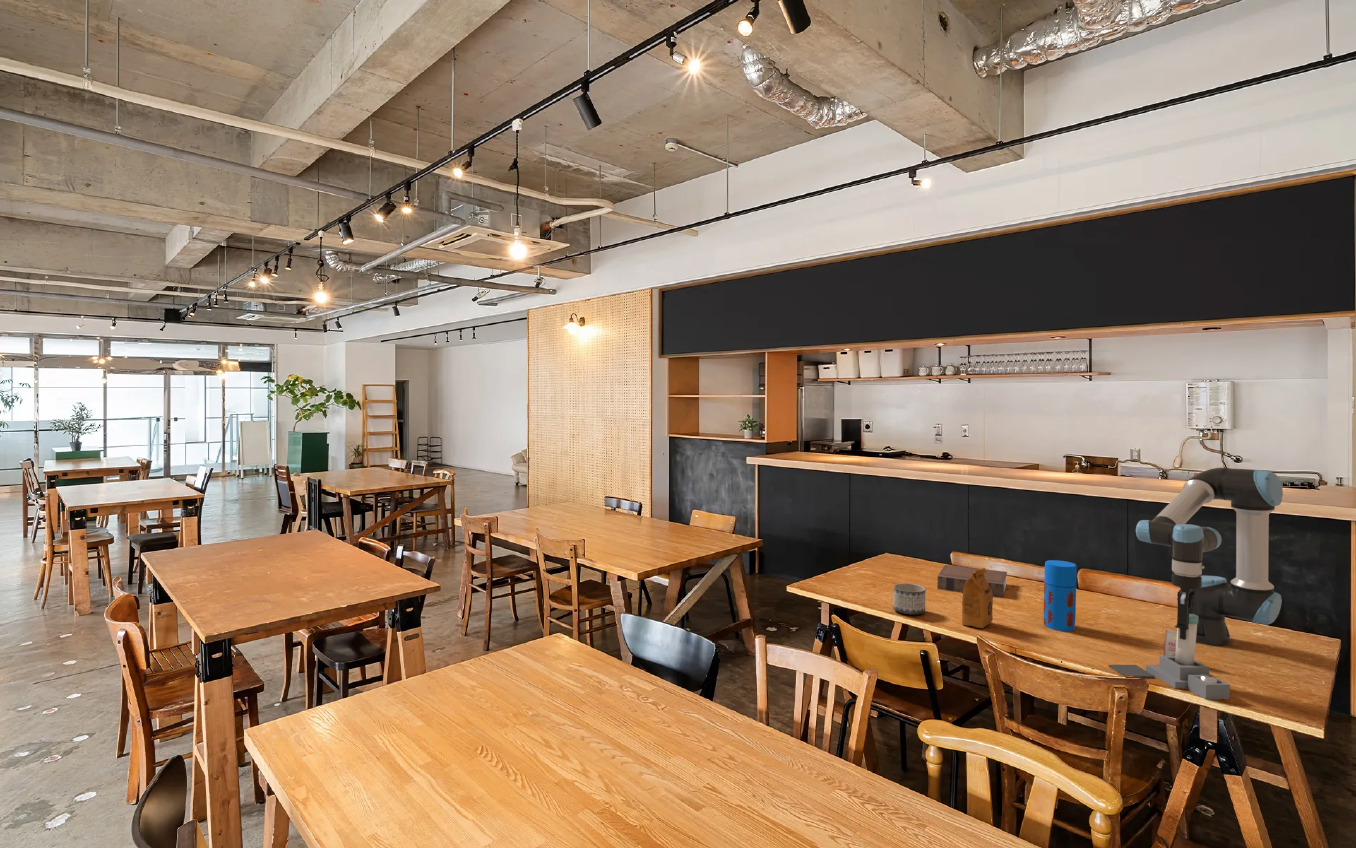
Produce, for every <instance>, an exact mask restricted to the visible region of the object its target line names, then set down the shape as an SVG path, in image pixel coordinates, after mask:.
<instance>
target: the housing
mask: <svg viewBox="0 0 1356 848" xmlns="http://www.w3.org/2000/svg"><path fill="white" fill-rule="evenodd" d="M1158 662H1159V663H1158V664H1146V665H1145V671H1147V672H1149V673H1150V674H1152V675H1154V676H1155V678H1157V679H1159V680H1161V681H1162V682H1164V683H1165V684H1167V685H1169V686H1170V687H1172V688H1174V689H1187V690H1188V691H1190V692H1192V693H1193V694H1194V695H1195V694H1196V695H1197V696H1199V697H1201V698H1202V699H1203V700H1221V699H1229V700H1230V691H1231V689H1230V686H1231V685H1230V684H1229V683H1227V682H1225V681H1223V680H1221V679H1219V678H1218V677H1217V683H1206V682H1204V681H1202V680H1201V679H1200V675H1201V674H1209V675H1210V666H1208V665H1205V664H1204V663H1201V662H1199V661H1197V660H1196V659H1194V666H1181V665H1179V664H1177V663H1176V662H1175V656H1164V655H1159V661H1158Z"/></svg>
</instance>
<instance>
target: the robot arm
mask: <svg viewBox="0 0 1356 848" xmlns="http://www.w3.org/2000/svg"><path fill="white" fill-rule="evenodd" d="M1283 491H1284V490H1283V485H1282V482H1281V479H1280V478H1279V477H1278V474H1276V473H1274V472H1272V471H1268V470H1266V471H1265V470H1262V469H1261V470H1260V469H1252V468H1251V469H1250V468H1249V469H1247V468H1233V467H1231V468H1229V467H1214V468H1210V469H1207V470H1204V471H1201V472H1200V473H1197V474H1195V475H1193V476H1192V477H1190V478H1188V479H1187V481H1185V482H1184V484H1183V485H1182V490H1181V491H1180V492H1179V493H1178V494H1177V495H1176V496H1175V497H1174V498H1173V499H1172V500H1171V501H1170V502H1169V503H1168V504H1167V505H1166V506H1165V507H1164V508H1163V509H1162V510H1161V511H1160V512H1159V513H1158V514H1157V515H1156V516H1155V517H1154V518H1153V519H1152V520H1149V519H1142V520H1139V521H1138V522H1137V524H1136V527H1135V533H1136V534H1135V535H1136V537H1137V540H1139V541H1141V542H1143V543H1144V542H1145V543H1149V544H1152V545H1154V544H1155V545H1161V546H1167V547H1172V559H1171V571H1172V574H1171V584H1172V585H1173V586H1175V587H1178V588H1179V590H1178V591H1177V595H1176V596H1177V598H1176V599H1177V613H1176V614H1177V616H1176V617H1177V621H1176V625H1175V628H1178V648H1180V649H1185V650H1189V627H1188V625H1189V613H1193V614H1195V615H1198V616H1199V617H1198V623H1197V632H1196V643H1200V644H1203V645H1204V644H1205V645H1212V646H1228V645H1230V644H1231V635H1230V632H1229V629H1228V626H1227V622H1226V617H1231V618H1235V619H1239V620H1243V621H1246V622H1251V623H1253V624H1261V625H1270V624H1272V623H1274V622H1275V620H1276V619H1277V618H1278V617H1279V614H1280V611H1281V607H1282V603H1283V601H1282V595H1281V594H1280V593H1278V592H1276V591H1275V585H1273V583H1271V582H1270V581H1269V543H1270V542H1269V537H1270V536H1269V535H1270V534H1269V533H1270V531H1269V530H1270V529H1269V528H1270V527H1269V525H1270V524H1269V523H1270V518H1269V517H1270V516H1269V515H1270V514H1271V513H1272V512H1274V511H1275V508H1276V507H1278V506H1280V505H1281V503H1282V501H1283V495H1284V494H1283V493H1284V492H1283ZM1213 500H1220V501H1221V500H1223V501H1229V502H1230V507H1231V508H1232V509H1233V511H1235V513H1236V515H1235V516H1236V519H1235V520H1236V529H1235V530H1236V531H1235V532H1236V533H1235V535H1236V536H1235V537H1236V539H1235V540H1236V543H1235V544H1236V548H1235V549H1236V555H1235V557H1236V559H1235V561H1236V562H1235V563H1236V565H1235V570H1236V572H1235V577H1234V578H1233V579H1231V580H1230V583H1227V582H1228V581H1227V579H1226V578H1225V577H1221V576H1216V575H1202V574H1203V572H1202V571H1203V570H1204V569H1205V565H1203V555H1204V554H1203V553H1207V552H1212V551H1214V550H1215V549H1217V548H1219V547H1220V545H1221V544H1222V536H1221V533H1220V532H1218V530H1216V529H1215V528H1212V527H1209V526H1200V525H1195V524H1187V522H1188V521H1189V520H1190V519H1191V518H1192V517H1193V516H1194V515H1195V514H1196V513H1197V512H1198V511H1199V510H1200V508H1202V507H1203V506H1204V505H1205V504H1209V503H1211V502H1212V501H1213Z"/></svg>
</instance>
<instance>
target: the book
mask: <svg viewBox="0 0 1356 848" xmlns="http://www.w3.org/2000/svg"><path fill="white" fill-rule="evenodd" d="M978 569H979V568H976V567H968V566H961V565H960V566H958V565H952V564H944V565H943V567H942V569H941V570H940V571H939V573H938V574H937V589H938V590H941V591H942V590H943V591H951V592H957V593H963V590H964V585H965V583H966V581H967V580H968V579H969V577H970V576H971V575H972V573H973V572H974V571H975V570H978ZM986 571H987V572H986V573H984V576H985V579H986V582H987V583H988V585H989V586H990V588H991V591H992V595H993V598H994V597H996V598H1003V599H1004V597H1005V590H1006V588H1007V587H1006V586H1007V575H1008V571H1002V570H996V569H995V570H994V569H986Z"/></svg>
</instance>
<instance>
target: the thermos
mask: <svg viewBox="0 0 1356 848" xmlns="http://www.w3.org/2000/svg"><path fill="white" fill-rule="evenodd" d="M1077 570H1078V568H1077V564H1076V563H1074V562H1070V561H1066V560H1065V561H1064V560H1058V559H1056V560H1055V559H1052V560H1051V559H1050V560H1046V561H1045V563H1044V578H1043V579H1044V582H1043V583H1044V584H1043V589H1044V590H1043V625H1044V626H1045V627H1046V628H1048V629H1051V630H1055V631H1061V632H1072V631H1074V630H1075V627H1076V617H1077V616H1076V615H1077V614H1076V611H1077V610H1076V609H1077V608H1076V607H1077Z"/></svg>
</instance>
